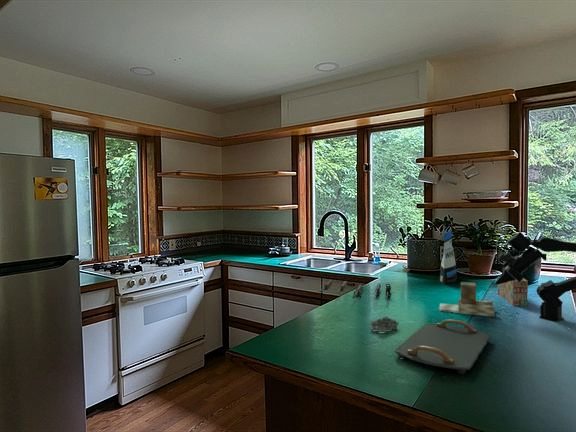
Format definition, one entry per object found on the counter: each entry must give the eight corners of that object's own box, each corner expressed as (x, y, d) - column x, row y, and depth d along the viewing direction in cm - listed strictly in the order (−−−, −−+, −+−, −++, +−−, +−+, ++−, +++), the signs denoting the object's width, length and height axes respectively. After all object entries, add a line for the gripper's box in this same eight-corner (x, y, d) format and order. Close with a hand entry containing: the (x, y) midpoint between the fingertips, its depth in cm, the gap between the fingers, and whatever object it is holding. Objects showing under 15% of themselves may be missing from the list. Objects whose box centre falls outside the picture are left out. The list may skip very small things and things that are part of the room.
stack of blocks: (497, 294, 195) (497, 271, 195) (510, 294, 194) (510, 271, 193) (513, 306, 174) (513, 279, 174) (527, 306, 173) (528, 280, 172)
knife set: (317, 300, 187) (317, 284, 187) (329, 288, 219) (329, 275, 219) (389, 306, 177) (389, 290, 177) (391, 292, 208) (391, 279, 208)
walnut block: (475, 306, 169) (475, 282, 169) (476, 310, 164) (475, 285, 163) (460, 305, 172) (460, 282, 171) (461, 309, 166) (460, 284, 166)
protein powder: (435, 283, 222) (435, 233, 221) (444, 276, 242) (443, 230, 241) (453, 285, 217) (452, 233, 215) (459, 277, 237) (459, 230, 236)
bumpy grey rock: (382, 335, 141) (382, 325, 141) (367, 330, 147) (367, 320, 147) (401, 329, 147) (401, 319, 147) (386, 324, 153) (386, 314, 153)
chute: (492, 310, 168) (492, 301, 168) (494, 316, 159) (494, 307, 159) (439, 305, 177) (439, 297, 177) (439, 311, 168) (439, 302, 168)
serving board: (428, 327, 149) (428, 312, 149) (493, 340, 135) (493, 323, 134) (389, 362, 119) (389, 343, 118) (468, 382, 104) (468, 361, 104)
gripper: (507, 243, 168) (480, 266, 173) (513, 248, 151) (483, 274, 156) (528, 261, 165) (499, 284, 170) (536, 269, 148) (504, 294, 153)
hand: (496, 283), depth 163 cm, fingers closed
